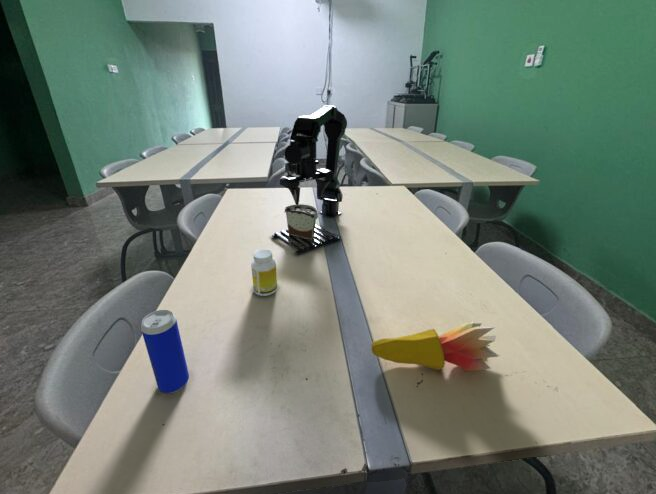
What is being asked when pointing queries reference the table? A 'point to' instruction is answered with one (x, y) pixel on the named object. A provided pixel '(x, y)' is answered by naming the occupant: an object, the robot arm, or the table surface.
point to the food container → (301, 220)
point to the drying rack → (305, 247)
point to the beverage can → (165, 350)
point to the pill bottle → (264, 273)
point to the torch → (440, 348)
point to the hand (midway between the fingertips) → (308, 201)
